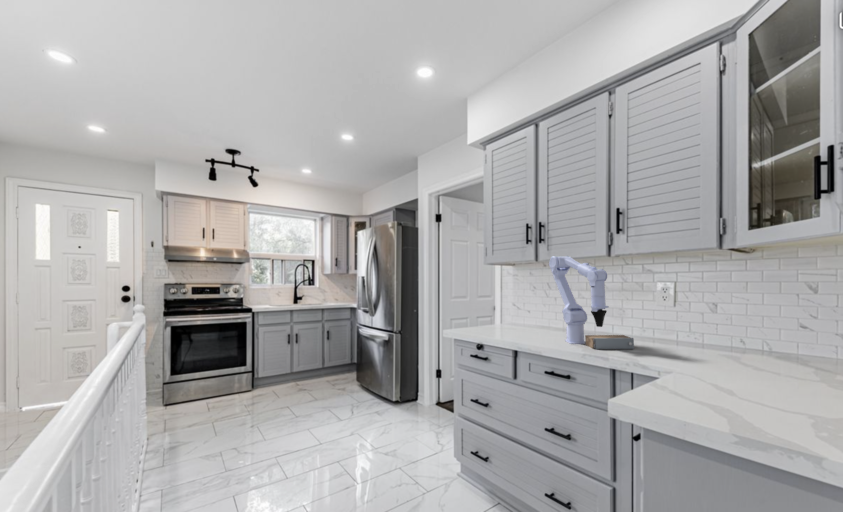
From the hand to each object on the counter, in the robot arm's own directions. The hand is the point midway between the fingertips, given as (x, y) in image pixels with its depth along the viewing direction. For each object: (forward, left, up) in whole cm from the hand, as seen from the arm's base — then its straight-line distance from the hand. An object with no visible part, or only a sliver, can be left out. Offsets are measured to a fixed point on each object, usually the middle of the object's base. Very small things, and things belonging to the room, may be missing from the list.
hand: (599, 326), depth 163 cm
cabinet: (-2, +5, -9) cm, 11 cm away
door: (+3, +4, -9) cm, 11 cm away
